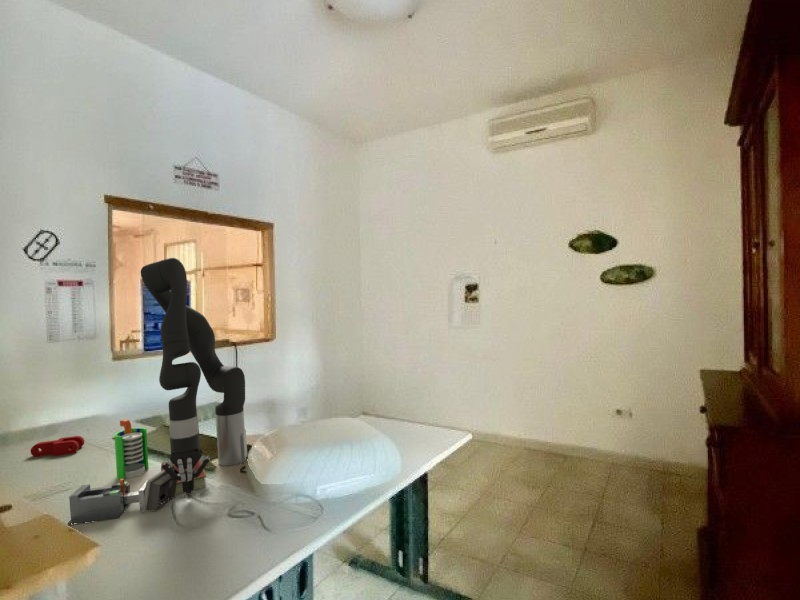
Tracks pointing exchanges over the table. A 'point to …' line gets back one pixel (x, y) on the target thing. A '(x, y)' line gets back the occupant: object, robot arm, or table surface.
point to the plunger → (133, 495)
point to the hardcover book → (198, 481)
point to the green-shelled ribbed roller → (131, 451)
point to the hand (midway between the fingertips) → (188, 492)
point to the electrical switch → (159, 491)
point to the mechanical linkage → (58, 446)
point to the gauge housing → (97, 503)
